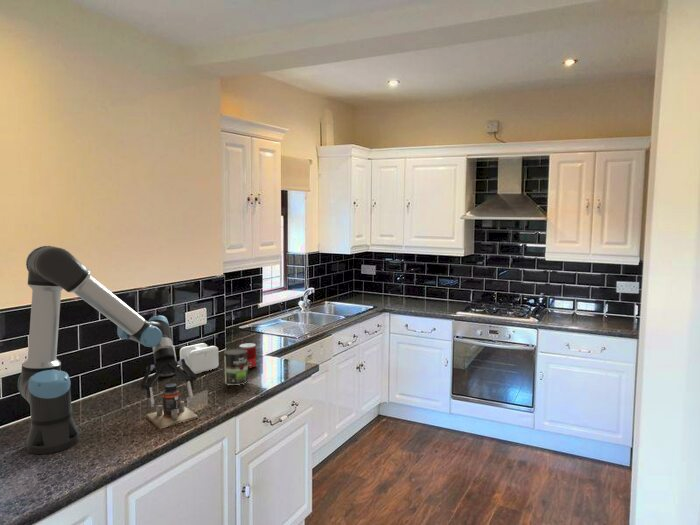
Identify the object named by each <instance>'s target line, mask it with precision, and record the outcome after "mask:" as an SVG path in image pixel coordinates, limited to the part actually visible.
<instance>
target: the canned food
mask: <svg viewBox="0 0 700 525" xmlns="http://www.w3.org/2000/svg"><path fill="white" fill-rule="evenodd" d="M238 349H245V350H247V365H248V368H250V367H254V366H256V367H257V345H256V343H253V342H251V343H250V342H248V343H247V342H246V343H242V344H239V348H238Z"/></svg>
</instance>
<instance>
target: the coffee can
mask: <svg viewBox="0 0 700 525" xmlns="http://www.w3.org/2000/svg"><path fill="white" fill-rule="evenodd" d="M223 355H224V356H223V357H224V358H223V360H224V362H223V363H224V384H225V385H226V384H227V385H226V386H229V385H239V386H241V385H240V384H243V385H245V384H244V383H246V382H247V381H248V382H249V374H248V373H249V372H248V371H249V369H248V365H247V350H245V349H239V348H230V349H226V350H225V351H223ZM248 382H247V383H248ZM247 383H246V384H247Z"/></svg>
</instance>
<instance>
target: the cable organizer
mask: <svg viewBox="0 0 700 525" xmlns="http://www.w3.org/2000/svg"><path fill="white" fill-rule="evenodd" d="M181 359H184V360H185V363H186V364H187V366H188V367H189V368H190V369H191V370H192V371H193V372H194V374H195V375H197V374H201V373H202V372H209V370H210V371H212V369H213V370H215V369H216V368H218V367H219V361H220V360H219V347H217V346H215V345H210V346H208V344H206V343H205V342H201V343H195V344H192V345H191V344H190V345H188V346H182V347H181V348H180V349H179V361H181ZM179 367H180V366H179ZM179 369H180V370H183V368H182V366H181V367H180V368H179Z"/></svg>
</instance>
